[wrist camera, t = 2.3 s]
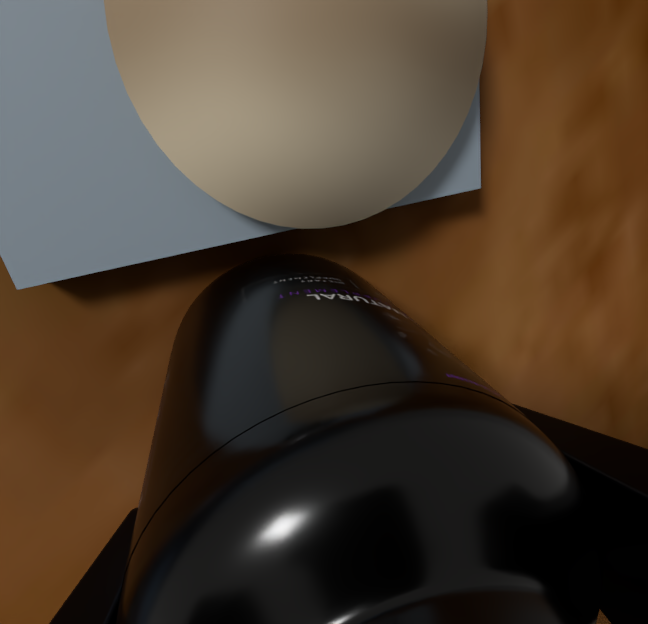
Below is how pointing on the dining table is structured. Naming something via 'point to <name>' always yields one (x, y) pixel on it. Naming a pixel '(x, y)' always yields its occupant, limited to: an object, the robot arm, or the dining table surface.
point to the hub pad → (301, 96)
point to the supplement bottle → (346, 472)
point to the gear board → (114, 157)
